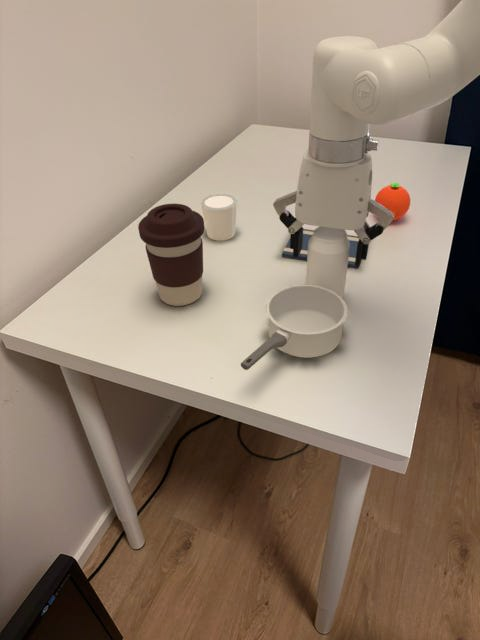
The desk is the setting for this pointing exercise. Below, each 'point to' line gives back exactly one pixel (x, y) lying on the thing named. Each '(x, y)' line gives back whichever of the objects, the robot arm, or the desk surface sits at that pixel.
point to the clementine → (394, 199)
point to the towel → (304, 252)
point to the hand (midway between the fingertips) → (327, 257)
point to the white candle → (220, 216)
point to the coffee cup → (175, 251)
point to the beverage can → (328, 259)
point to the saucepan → (302, 322)
